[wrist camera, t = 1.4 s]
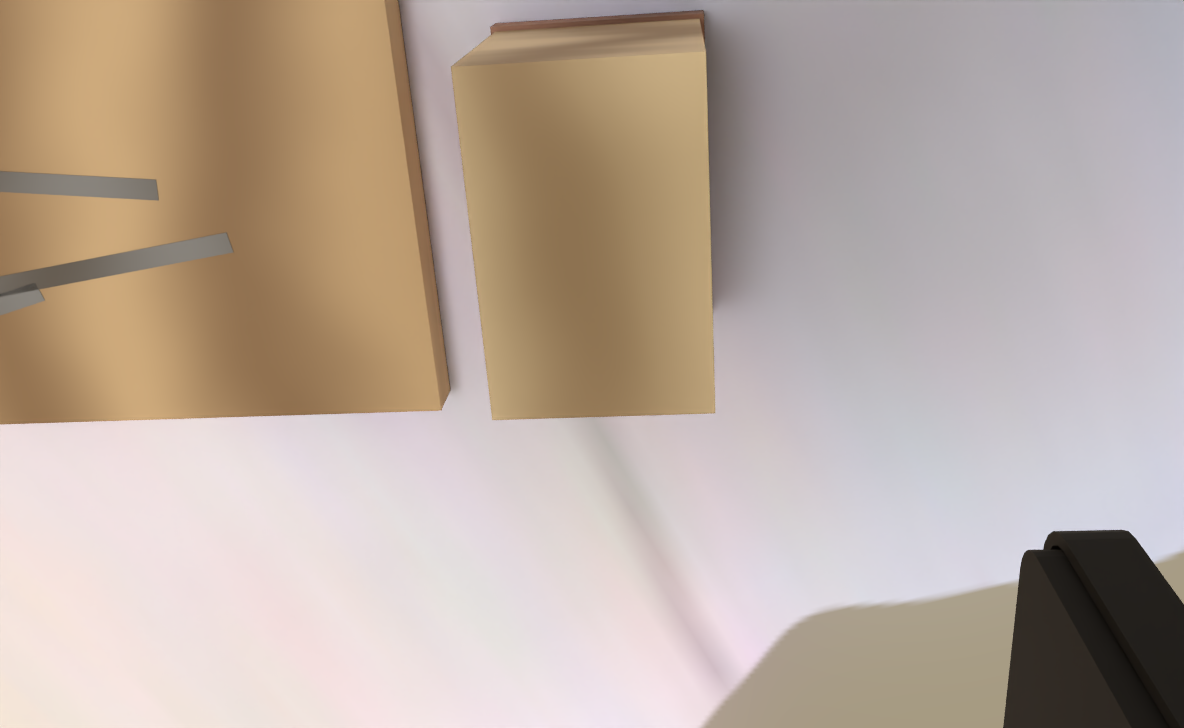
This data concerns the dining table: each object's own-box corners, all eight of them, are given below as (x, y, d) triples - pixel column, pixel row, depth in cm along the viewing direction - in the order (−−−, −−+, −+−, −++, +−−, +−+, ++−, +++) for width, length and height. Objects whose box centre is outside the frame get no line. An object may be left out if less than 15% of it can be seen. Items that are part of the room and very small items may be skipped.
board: (390, -60, 24) (376, -57, 23) (450, 390, 28) (440, 410, 27) (-431, -1, 26) (-480, 5, 25) (-255, 413, 30) (-291, 433, 29)
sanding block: (702, 9, 24) (711, 45, 19) (710, 310, 27) (720, 417, 22) (495, 22, 25) (444, 61, 19) (525, 317, 27) (487, 424, 22)
